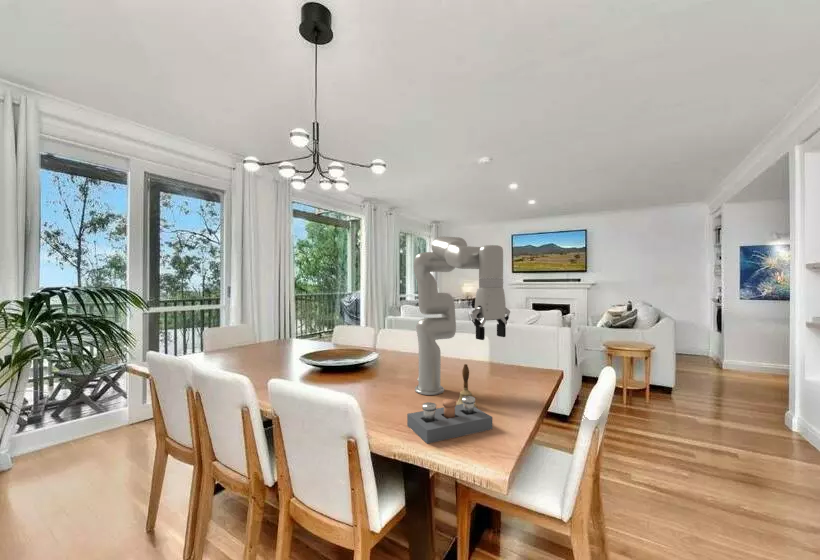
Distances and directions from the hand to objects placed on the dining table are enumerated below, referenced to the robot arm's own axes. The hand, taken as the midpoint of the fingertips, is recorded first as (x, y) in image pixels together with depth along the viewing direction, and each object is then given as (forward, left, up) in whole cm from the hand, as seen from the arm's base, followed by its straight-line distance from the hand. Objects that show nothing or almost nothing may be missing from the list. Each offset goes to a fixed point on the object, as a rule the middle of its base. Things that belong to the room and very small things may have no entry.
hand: (490, 337), depth 113 cm
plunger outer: (-8, -18, -26) cm, 33 cm away
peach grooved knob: (-8, -10, -26) cm, 30 cm away
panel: (-8, -10, -30) cm, 33 cm away
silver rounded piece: (-8, -3, -26) cm, 28 cm away
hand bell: (-22, +6, -30) cm, 38 cm away
